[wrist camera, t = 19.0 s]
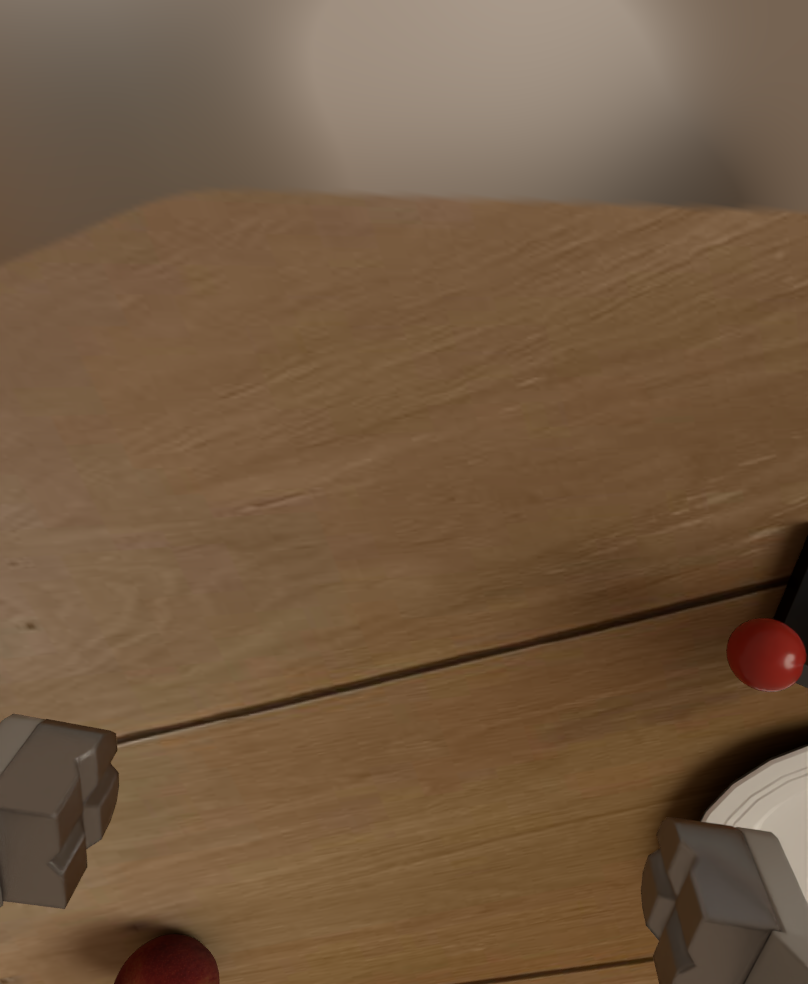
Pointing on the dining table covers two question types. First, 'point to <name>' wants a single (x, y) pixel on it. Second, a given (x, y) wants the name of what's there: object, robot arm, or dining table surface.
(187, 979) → the apple
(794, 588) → the switch bracket
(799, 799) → the plate
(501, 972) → the dining table surface
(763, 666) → the lever
